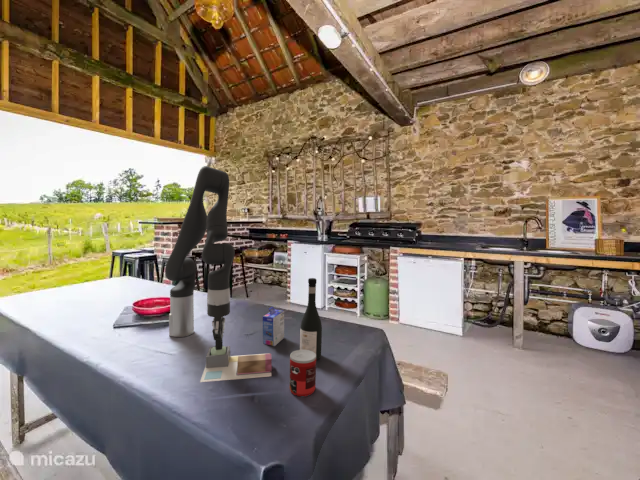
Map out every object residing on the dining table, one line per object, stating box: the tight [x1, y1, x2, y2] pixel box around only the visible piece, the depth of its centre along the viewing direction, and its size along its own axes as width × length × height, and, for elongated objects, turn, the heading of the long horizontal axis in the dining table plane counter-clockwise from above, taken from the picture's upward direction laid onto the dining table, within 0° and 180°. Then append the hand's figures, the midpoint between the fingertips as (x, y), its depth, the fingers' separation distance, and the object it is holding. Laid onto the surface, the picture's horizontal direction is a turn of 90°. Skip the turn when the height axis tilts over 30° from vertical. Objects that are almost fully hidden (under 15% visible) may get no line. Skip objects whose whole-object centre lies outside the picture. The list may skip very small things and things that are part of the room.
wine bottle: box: [299, 277, 323, 361], centre depth 109 cm, size 8×8×30 cm
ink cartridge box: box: [262, 306, 285, 347], centre depth 123 cm, size 10×6×14 cm, turn 161°
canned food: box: [289, 349, 317, 397], centre depth 89 cm, size 8×8×11 cm
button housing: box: [205, 345, 231, 368], centre depth 103 cm, size 7×7×4 cm
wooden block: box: [237, 353, 273, 374], centre depth 99 cm, size 11×4×4 cm, turn 102°
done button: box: [211, 345, 226, 355], centre depth 103 cm, size 5×5×4 cm
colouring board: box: [199, 353, 272, 383], centre depth 101 cm, size 22×16×1 cm
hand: (219, 348), depth 103 cm, fingers closed
